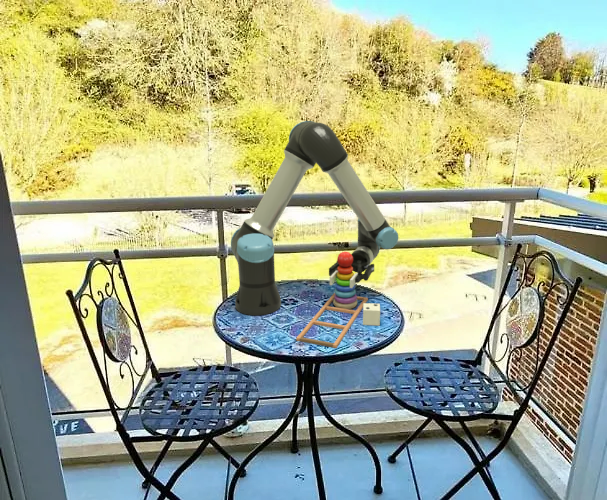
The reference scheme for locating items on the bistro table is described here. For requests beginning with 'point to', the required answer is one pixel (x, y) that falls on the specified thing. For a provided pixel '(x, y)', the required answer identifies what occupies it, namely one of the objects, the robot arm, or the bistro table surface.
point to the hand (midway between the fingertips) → (340, 282)
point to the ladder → (345, 328)
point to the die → (371, 314)
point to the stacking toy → (345, 283)
